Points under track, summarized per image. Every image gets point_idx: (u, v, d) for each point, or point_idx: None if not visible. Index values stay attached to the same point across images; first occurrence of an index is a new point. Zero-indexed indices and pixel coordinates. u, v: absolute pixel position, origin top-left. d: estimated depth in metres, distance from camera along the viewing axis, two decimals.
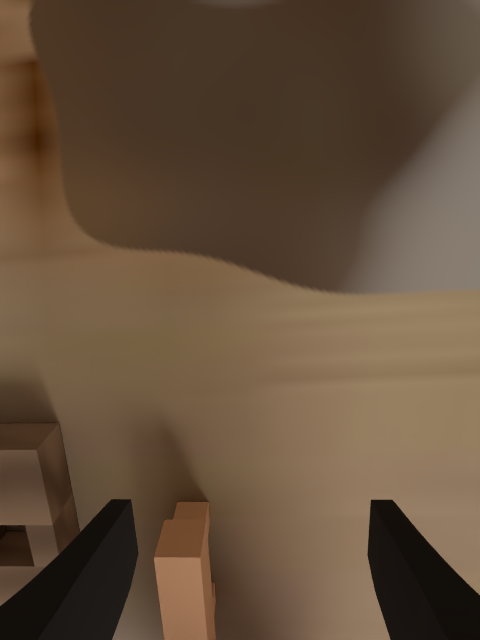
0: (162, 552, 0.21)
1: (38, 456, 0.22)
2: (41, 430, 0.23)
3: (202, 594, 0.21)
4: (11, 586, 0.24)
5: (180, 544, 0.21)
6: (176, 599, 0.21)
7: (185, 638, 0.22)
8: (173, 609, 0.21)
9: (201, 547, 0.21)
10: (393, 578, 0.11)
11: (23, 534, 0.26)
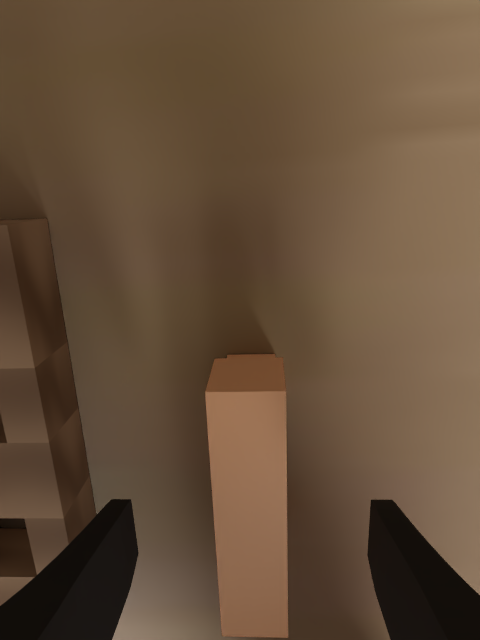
0: (218, 387, 0.12)
1: (10, 238, 0.13)
2: (18, 221, 0.15)
3: (284, 462, 0.12)
4: None
5: (248, 380, 0.13)
6: (239, 473, 0.13)
7: (251, 545, 0.13)
8: (234, 491, 0.13)
9: (283, 382, 0.12)
10: (393, 578, 0.11)
11: None
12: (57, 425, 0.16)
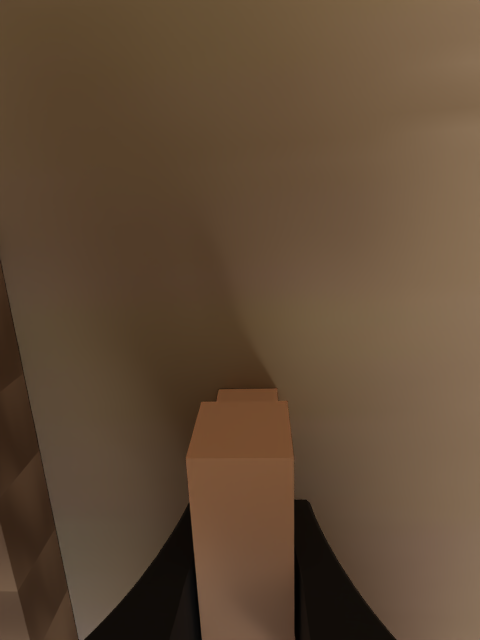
0: (204, 450, 0.09)
1: None
2: None
3: (291, 546, 0.09)
4: None
5: (243, 438, 0.10)
6: (232, 559, 0.10)
7: None
8: (225, 581, 0.10)
9: (290, 442, 0.09)
10: (294, 577, 0.11)
11: None
12: (8, 478, 0.13)
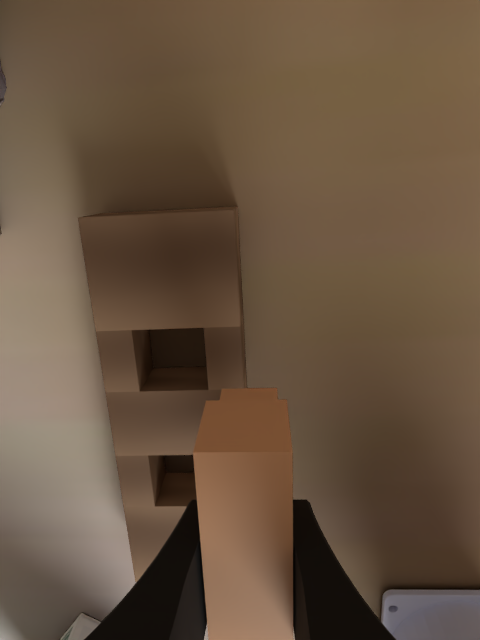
0: (209, 445, 0.10)
1: (234, 220, 0.16)
2: (221, 208, 0.18)
3: (290, 533, 0.10)
4: (174, 420, 0.19)
5: (245, 433, 0.10)
6: (235, 546, 0.10)
7: (249, 627, 0.11)
8: (229, 566, 0.11)
9: (289, 437, 0.10)
10: (294, 577, 0.11)
11: (175, 369, 0.21)
12: (244, 376, 0.19)
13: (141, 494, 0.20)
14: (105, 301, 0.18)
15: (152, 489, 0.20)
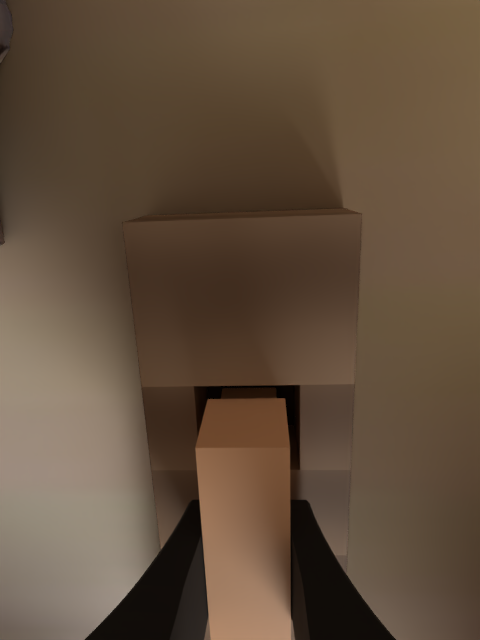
0: (211, 441, 0.10)
1: None
2: (326, 210, 0.12)
3: (288, 526, 0.11)
4: None
5: (246, 430, 0.11)
6: (235, 538, 0.11)
7: (249, 616, 0.12)
8: (229, 557, 0.11)
9: (287, 434, 0.11)
10: (293, 577, 0.11)
11: None
12: None
13: None
14: (157, 345, 0.12)
15: None
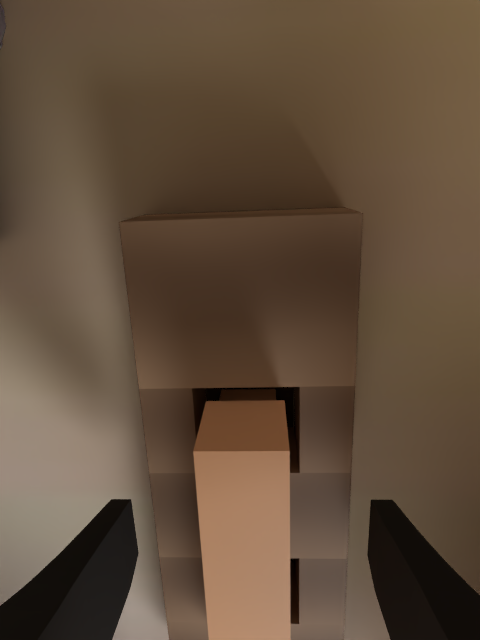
0: (209, 444, 0.10)
1: (361, 230, 0.11)
2: (326, 209, 0.12)
3: (287, 530, 0.11)
4: None
5: (244, 433, 0.11)
6: (234, 543, 0.11)
7: (248, 621, 0.11)
8: (228, 563, 0.11)
9: (286, 437, 0.11)
10: (393, 578, 0.11)
11: None
12: None
13: (192, 606, 0.15)
14: (155, 346, 0.12)
15: None
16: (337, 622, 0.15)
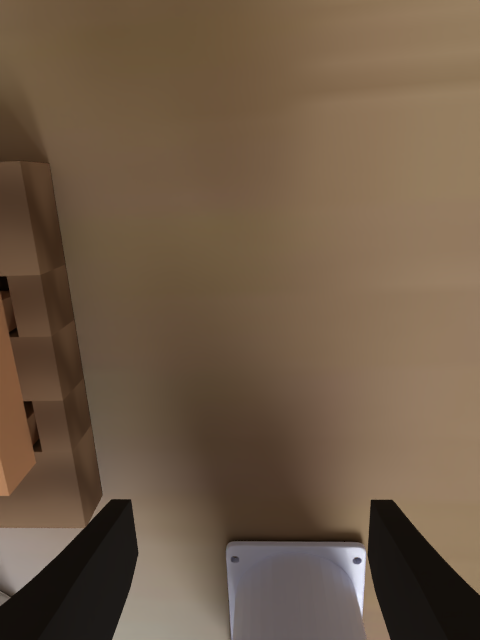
0: None
1: (22, 171, 0.17)
2: None
3: None
4: None
5: None
6: None
7: None
8: None
9: None
10: (393, 578, 0.11)
11: None
12: (57, 326, 0.20)
13: None
14: None
15: None
16: (67, 450, 0.21)
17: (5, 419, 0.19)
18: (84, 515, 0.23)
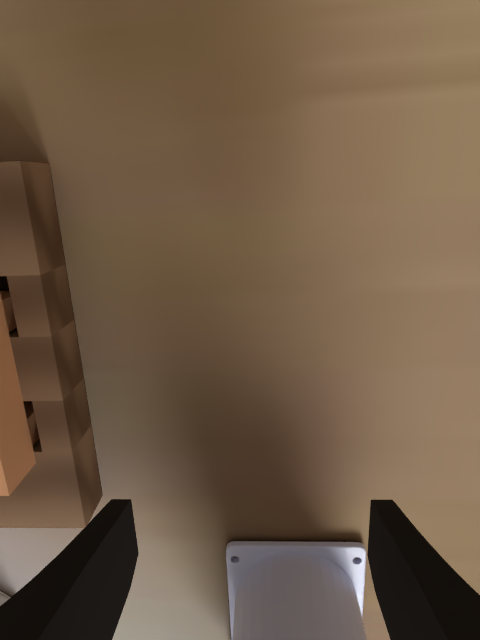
0: None
1: (22, 171, 0.17)
2: None
3: None
4: None
5: None
6: None
7: None
8: None
9: None
10: (393, 578, 0.11)
11: None
12: (57, 326, 0.20)
13: None
14: None
15: None
16: (67, 450, 0.21)
17: (5, 419, 0.19)
18: (84, 515, 0.23)
